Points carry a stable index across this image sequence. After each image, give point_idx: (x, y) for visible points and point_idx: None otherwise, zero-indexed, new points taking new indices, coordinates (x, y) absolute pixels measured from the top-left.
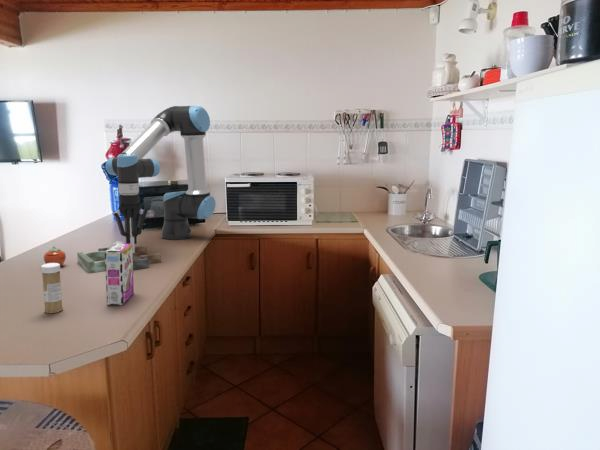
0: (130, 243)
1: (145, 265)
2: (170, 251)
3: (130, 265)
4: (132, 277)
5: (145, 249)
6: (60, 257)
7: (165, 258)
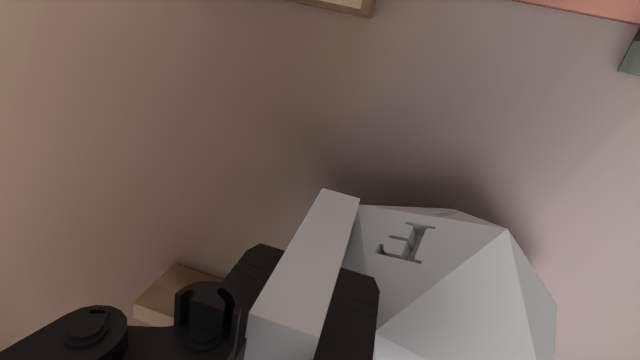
0: (339, 268)
1: None
2: (31, 205)
3: None
4: None
5: (161, 289)
6: None
7: (115, 56)
